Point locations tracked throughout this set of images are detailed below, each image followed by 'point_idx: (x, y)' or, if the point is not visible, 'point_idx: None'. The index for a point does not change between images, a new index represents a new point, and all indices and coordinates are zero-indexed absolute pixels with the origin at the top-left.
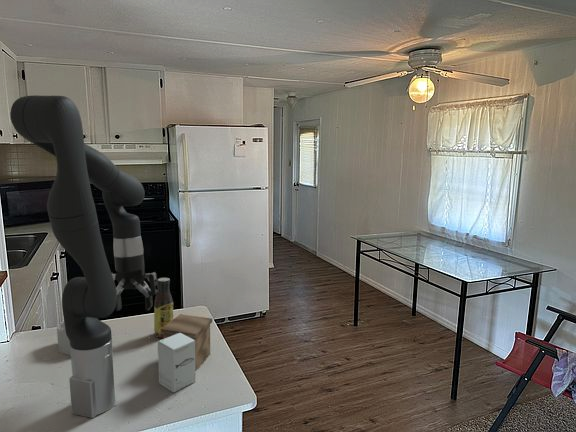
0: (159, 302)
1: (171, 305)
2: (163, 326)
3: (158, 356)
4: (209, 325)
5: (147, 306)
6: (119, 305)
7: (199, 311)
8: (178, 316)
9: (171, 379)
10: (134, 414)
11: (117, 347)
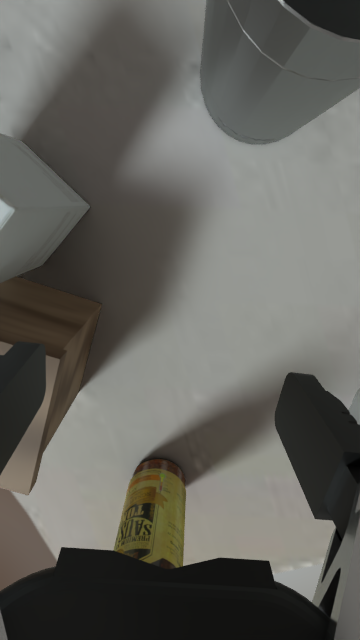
0: None
1: None
2: (147, 489)
3: (50, 204)
4: None
5: (4, 355)
6: (294, 414)
7: None
8: (27, 475)
9: (7, 140)
10: (113, 7)
11: None
